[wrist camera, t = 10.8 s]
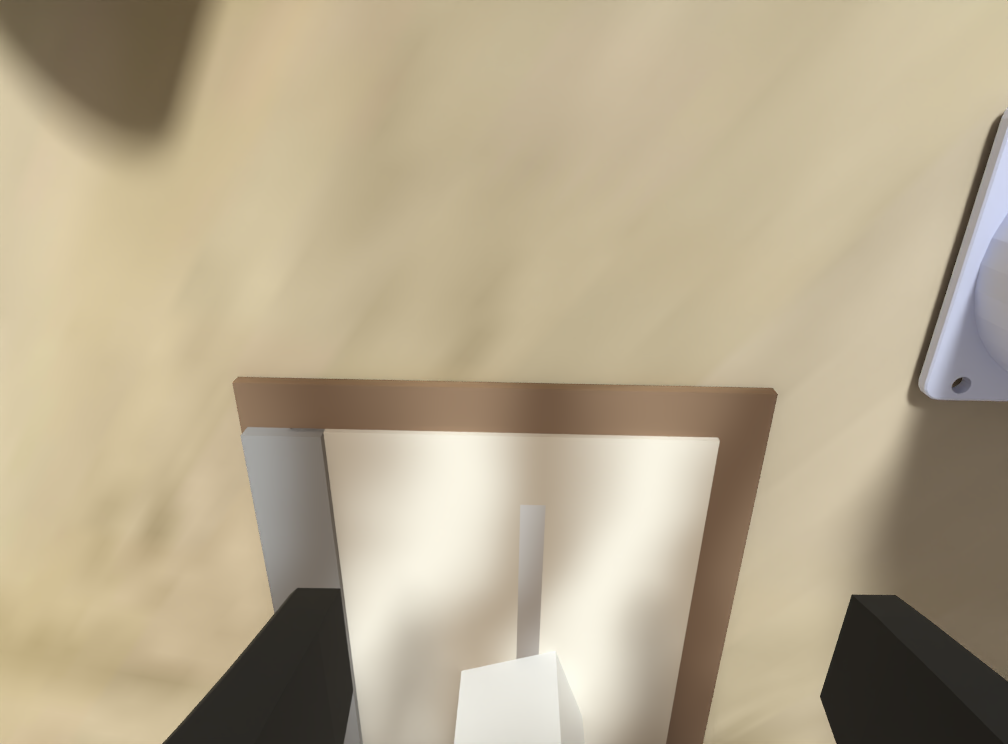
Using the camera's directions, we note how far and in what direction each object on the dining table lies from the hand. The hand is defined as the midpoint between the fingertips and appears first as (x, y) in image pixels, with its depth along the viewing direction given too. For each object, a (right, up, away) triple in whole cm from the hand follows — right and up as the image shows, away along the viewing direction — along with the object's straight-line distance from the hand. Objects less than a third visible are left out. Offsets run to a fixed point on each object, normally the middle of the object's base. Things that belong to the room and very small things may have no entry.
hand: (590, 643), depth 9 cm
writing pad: (-1, -5, +14) cm, 14 cm away
